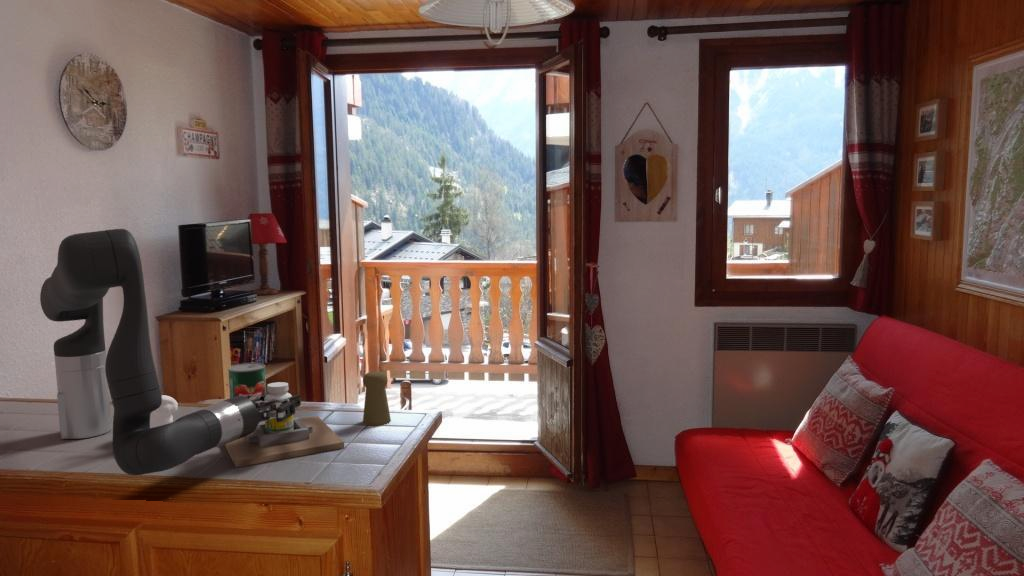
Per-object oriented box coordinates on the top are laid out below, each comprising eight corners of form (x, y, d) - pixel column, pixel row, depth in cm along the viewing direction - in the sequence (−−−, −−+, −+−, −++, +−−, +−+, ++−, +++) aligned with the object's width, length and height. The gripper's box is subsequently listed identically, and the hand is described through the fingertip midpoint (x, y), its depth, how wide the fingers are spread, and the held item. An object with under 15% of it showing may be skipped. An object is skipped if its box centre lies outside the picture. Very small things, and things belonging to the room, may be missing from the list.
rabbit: (185, 439, 148) (181, 382, 146) (138, 452, 141) (133, 392, 139) (156, 428, 155) (152, 374, 154) (110, 440, 148) (105, 383, 147)
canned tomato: (245, 421, 160) (242, 372, 159) (223, 415, 164) (220, 368, 163) (275, 412, 166) (272, 365, 165) (252, 407, 171) (250, 361, 169)
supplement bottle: (295, 433, 144) (293, 386, 143) (266, 437, 142) (264, 388, 140) (292, 426, 149) (290, 380, 147) (264, 429, 147) (262, 382, 145)
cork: (384, 426, 155) (383, 376, 153) (358, 425, 156) (356, 375, 155) (394, 418, 161) (393, 369, 159) (369, 416, 162) (367, 368, 160)
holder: (235, 467, 132) (234, 450, 132) (220, 436, 149) (219, 421, 149) (344, 447, 142) (343, 432, 141) (318, 421, 159) (317, 407, 159)
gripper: (256, 405, 128) (315, 383, 144) (193, 398, 133) (257, 377, 149) (258, 446, 129) (317, 420, 145) (196, 437, 134) (259, 413, 150)
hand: (286, 398), depth 147 cm, fingers closed on supplement bottle, 5 cm apart
